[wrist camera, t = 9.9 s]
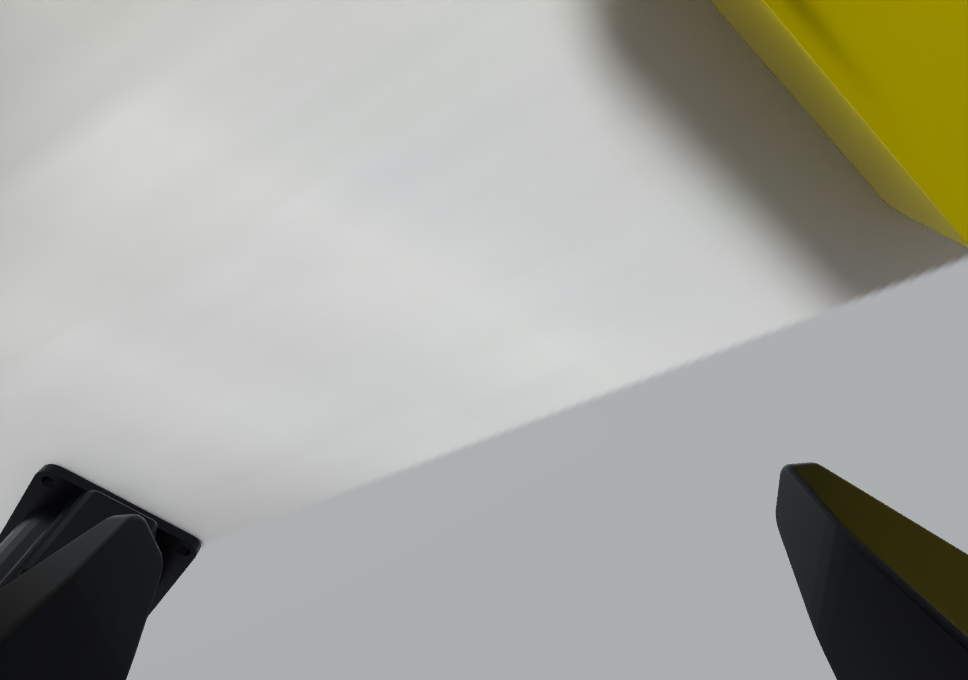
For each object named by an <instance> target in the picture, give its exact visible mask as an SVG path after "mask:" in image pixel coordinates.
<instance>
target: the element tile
mask: <svg viewBox="0 0 968 680" xmlns="http://www.w3.org/2000/svg"><path fill="white" fill-rule="evenodd" d="M710 1H711V2H712V4H713V5H714V6H715V7H716V8H717V9H718V10H719V12H720V13H721V14H722V15H723V16H724V17H725V19H726V20H727V21H728V22H729V23H730V24H731V25H732V27H733V28H734V29H735V30H736V31H737V32H738V33H739V35H740V36H741V37H742V38H743V39H744V40H745V42H746V43H747V44H748V45H749V46H750V47H751V48H752V50H753V51H754V52H755V53H756V54H757V55H758V56H759V58H760V59H761V60H762V61H763V62H764V63H765V65H766V66H767V67H768V68H769V69H770V70H771V71H772V73H773V74H774V75H775V76H776V77H777V78H778V79H779V81H780V82H781V83H782V84H783V85H784V86H785V88H786V89H787V90H788V91H789V92H790V93H791V94H792V96H793V97H794V98H795V99H796V100H797V101H798V102H799V104H800V105H801V106H802V107H803V108H804V109H805V111H806V112H807V113H808V114H809V115H810V116H811V117H812V119H813V120H814V121H815V122H816V123H817V124H818V125H819V127H820V128H821V129H822V130H823V131H824V132H825V134H826V135H827V136H828V137H829V138H830V139H831V140H832V142H833V143H834V144H835V145H836V146H837V147H838V148H839V150H840V151H841V152H842V153H843V154H844V155H845V157H846V158H847V159H848V160H849V161H850V162H851V163H852V165H853V166H854V167H855V168H856V169H857V170H858V171H859V173H860V174H861V175H862V176H863V177H864V178H865V180H866V181H867V182H868V183H869V184H870V185H871V186H872V188H873V189H874V190H875V191H876V192H877V193H878V194H879V196H880V197H881V198H882V199H883V200H884V201H885V202H886V203H887V204H889V205H890V206H891V207H893V208H894V209H896V210H897V211H898V212H900V213H902V214H904V215H906V216H908V217H909V218H911V219H913V220H915V221H917V222H919V223H921V224H923V225H925V226H927V227H928V228H930V229H932V230H934V231H936V232H938V233H940V234H942V235H944V236H946V237H947V238H949V239H951V240H953V241H955V242H957V243H959V244H961V245H963V246H965V247H966V248H968V0H710Z"/></svg>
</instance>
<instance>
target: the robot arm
mask: <svg viewBox="0 0 968 680" xmlns="http://www.w3.org/2000/svg"><path fill="white" fill-rule="evenodd" d="M776 521H777V526H778V529H779V532H780V535H781V538H782V541H783V544H784V546H785V549H786V552H787V555H788V558H789V561H790V564H791V566H792V569H793V572H794V575H795V577H796V581H797V583H798V586H799V589H800V592H801V594H802V598H803V600H804V603H805V606H806V609H807V612H808V614H809V617H810V620H811V623H812V625H813V628H814V631H815V633H816V636H817V638H818V640H819V642H820V645H821V647H822V649H823V651H824V654H825V656H826V657H827V660H828V662H829V664H830V666H831V668H832V670H833V672H834V674H835V676H836V678H837V680H968V555H967V554H966V553H964V552H963V551H961V550H959V549H958V548H956V547H955V546H953V545H951V544H949V543H948V542H946V541H945V540H943V539H941V538H939V537H938V536H936V535H935V534H933V533H931V532H930V531H928V530H926V529H925V528H923V527H922V526H920V525H918V524H916V523H915V522H913V521H912V520H910V519H908V518H907V517H905V516H903V515H902V514H900V513H898V512H897V511H895V510H893V509H892V508H890V507H889V506H887V505H885V504H884V503H882V502H880V501H879V500H877V499H875V498H874V497H872V496H870V495H869V494H867V493H865V492H864V491H862V490H860V489H859V488H857V487H856V486H854V485H852V484H851V483H849V482H847V481H845V480H844V479H842V478H841V477H839V476H837V475H836V474H834V473H832V472H831V471H829V470H828V469H826V468H824V467H822V466H821V465H819V464H817V463H798V464H788V465H786V466H784V467H783V468H782V470H781V473H780V480H779V489H778V497H777V505H776ZM186 547H187V548H186ZM200 547H201V544H200V542H199V540H198V539H197V538H195V537H194V536H192V535H190V534H188V533H186V532H185V531H183V530H181V529H179V528H177V527H175V526H173V525H171V524H169V523H167V522H165V521H163V520H162V519H160V518H158V517H156V516H154V515H152V514H150V513H148V512H146V511H144V510H142V509H140V508H139V507H137V506H135V505H133V504H131V503H129V502H127V501H125V500H123V499H121V498H119V497H117V496H116V495H114V494H112V493H110V492H108V491H106V490H104V489H102V488H100V487H98V486H96V485H94V484H93V483H91V482H89V481H87V480H85V479H83V478H81V477H79V476H77V475H75V474H73V473H71V472H70V471H68V470H66V469H64V468H62V467H60V466H57V465H54V464H48V465H45V466H44V467H42V468H41V469H40V470H39V471H38V472H37V474H36V475H35V476H34V478H33V479H32V481H31V483H30V485H29V486H28V488H27V490H26V491H25V493H24V495H23V496H22V498H21V500H20V502H19V503H18V505H17V507H16V508H15V510H14V512H13V514H12V515H11V517H10V519H9V520H8V522H7V524H6V526H5V527H4V529H3V531H2V532H1V534H0V680H126V678H127V675H128V673H129V670H130V667H131V664H132V662H133V659H134V656H135V653H136V650H137V647H138V643H139V640H140V637H141V634H142V631H143V628H144V625H145V622H146V619H147V617H148V615H149V614H150V613H151V612H152V610H153V609H154V608H155V607H156V606H157V604H158V603H159V602H160V601H161V599H162V598H163V596H164V595H165V594H166V593H167V592H168V591H169V589H170V588H171V587H172V586H173V584H174V583H175V582H176V581H177V579H178V578H179V577H180V576H181V574H182V573H183V572H184V571H185V569H186V568H187V567H188V565H189V564H190V563H191V562H192V561H193V559H194V558H195V557H196V555H197V553H198V551H199V550H200Z"/></svg>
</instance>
